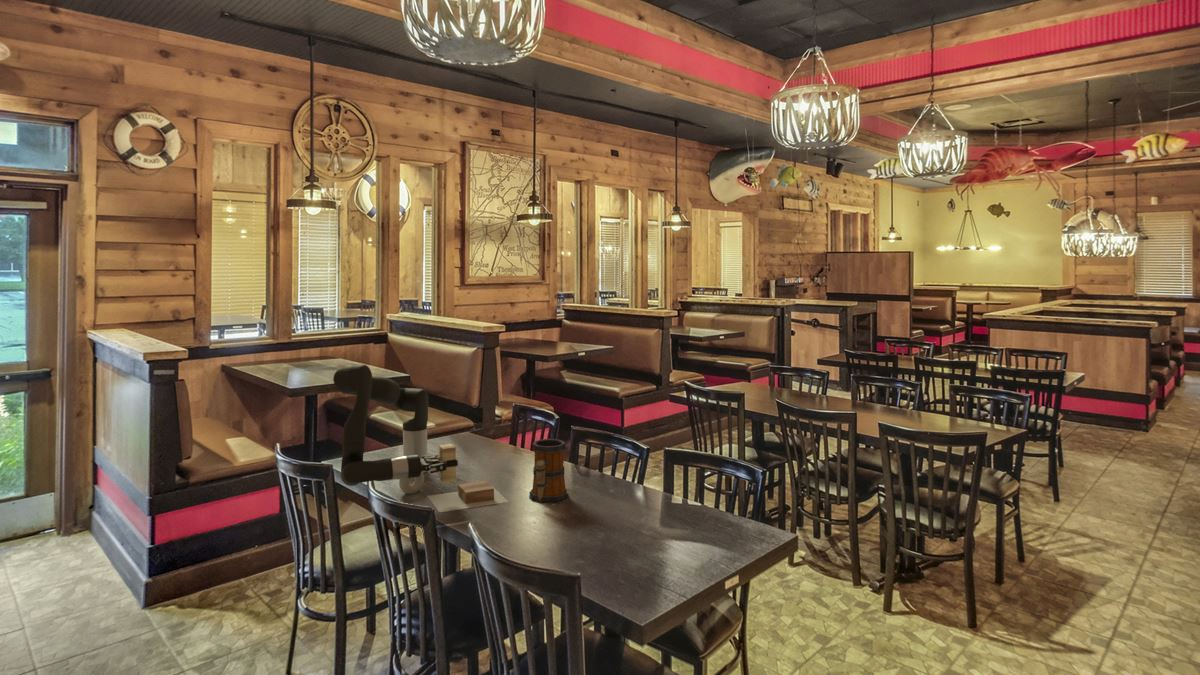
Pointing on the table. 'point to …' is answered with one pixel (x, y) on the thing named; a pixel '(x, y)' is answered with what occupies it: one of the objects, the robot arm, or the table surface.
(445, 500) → the build mat
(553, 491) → the mug
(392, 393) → the robot arm
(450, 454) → the maple pillar
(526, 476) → the table surface
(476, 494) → the walnut base
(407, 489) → the donut
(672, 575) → the table surface
